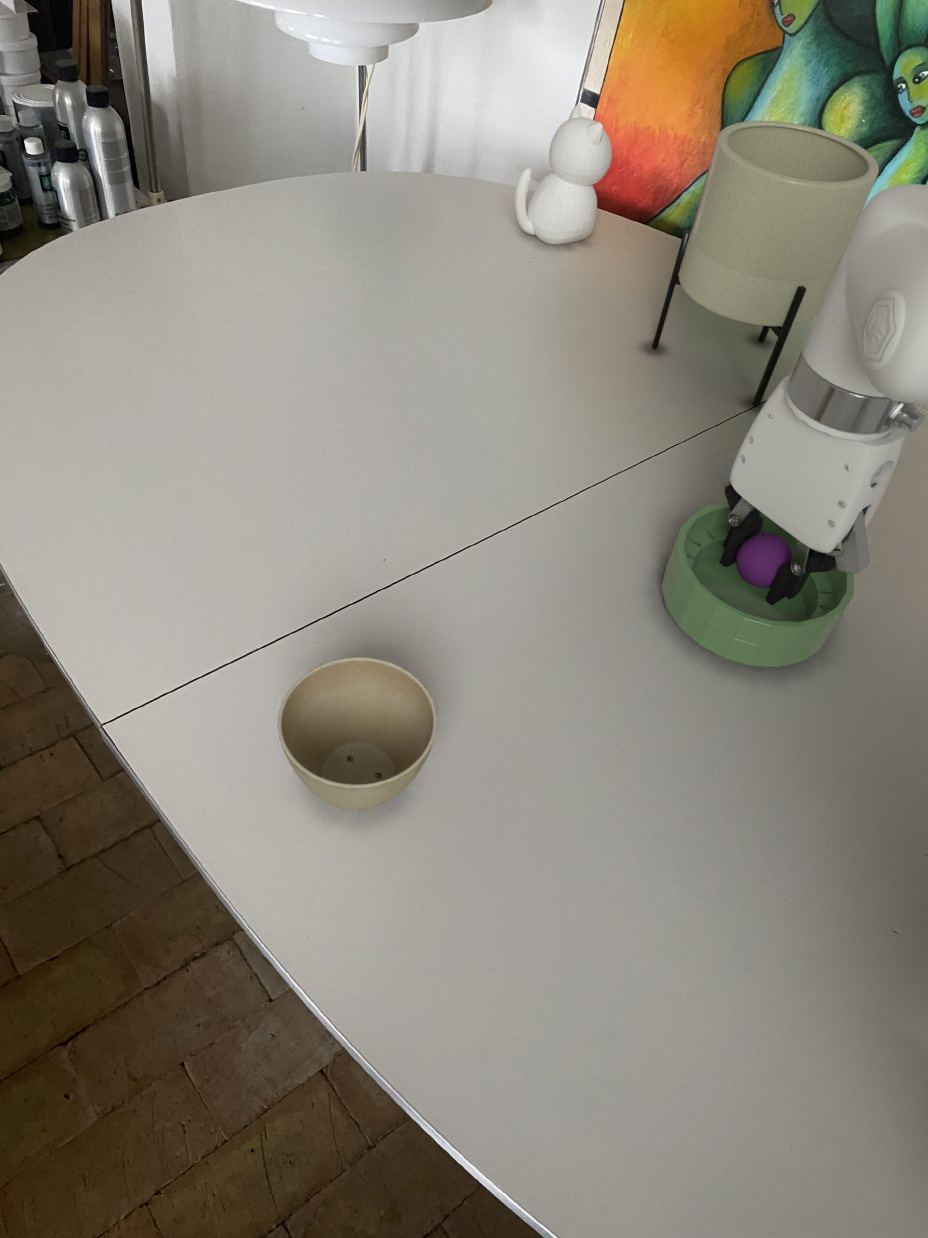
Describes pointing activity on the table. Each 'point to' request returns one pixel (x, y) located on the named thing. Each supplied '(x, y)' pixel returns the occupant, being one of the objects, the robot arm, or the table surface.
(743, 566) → the ball
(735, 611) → the bowl
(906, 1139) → the table surface
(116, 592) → the table surface
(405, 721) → the flower pot
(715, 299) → the planter
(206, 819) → the table surface
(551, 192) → the cat figurine
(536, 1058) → the table surface
